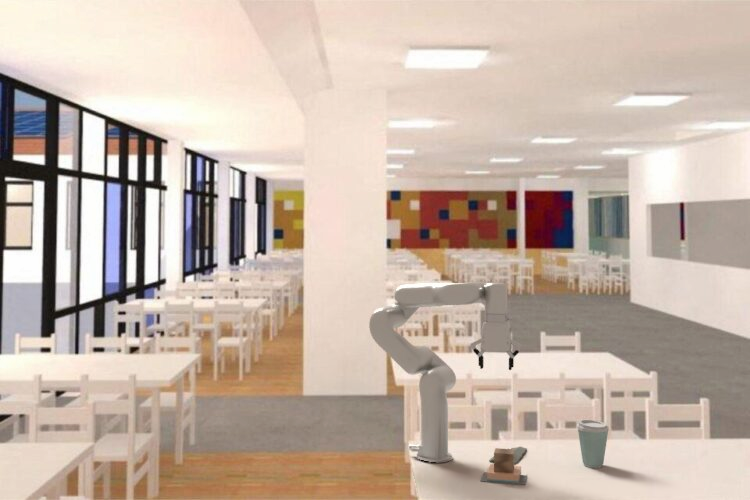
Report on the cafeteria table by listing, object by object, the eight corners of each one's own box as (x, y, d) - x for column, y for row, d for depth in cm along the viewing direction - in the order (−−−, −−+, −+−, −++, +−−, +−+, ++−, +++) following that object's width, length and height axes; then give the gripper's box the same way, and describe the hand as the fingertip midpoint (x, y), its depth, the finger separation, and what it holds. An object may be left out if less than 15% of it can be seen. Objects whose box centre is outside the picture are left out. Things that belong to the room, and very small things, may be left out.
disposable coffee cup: (610, 463, 254) (610, 420, 254) (606, 471, 244) (606, 426, 244) (579, 459, 258) (579, 417, 258) (574, 467, 248) (574, 423, 248)
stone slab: (488, 467, 255) (516, 466, 251) (487, 459, 255) (515, 458, 251) (503, 452, 275) (529, 451, 271) (502, 444, 275) (528, 443, 271)
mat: (480, 481, 233) (480, 480, 233) (484, 472, 242) (484, 471, 242) (525, 485, 229) (525, 484, 229) (527, 476, 239) (527, 475, 239)
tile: (490, 471, 243) (487, 480, 233) (490, 464, 243) (487, 472, 233) (521, 473, 240) (518, 482, 231) (521, 466, 240) (518, 475, 231)
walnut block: (493, 471, 235) (493, 453, 235) (495, 466, 240) (495, 448, 240) (512, 473, 233) (512, 454, 233) (514, 467, 239) (514, 449, 239)
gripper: (522, 318, 251) (522, 368, 251) (472, 317, 256) (472, 366, 256) (521, 320, 244) (520, 371, 244) (469, 319, 249) (469, 369, 249)
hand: (495, 368), depth 250 cm, fingers open, 9 cm apart
